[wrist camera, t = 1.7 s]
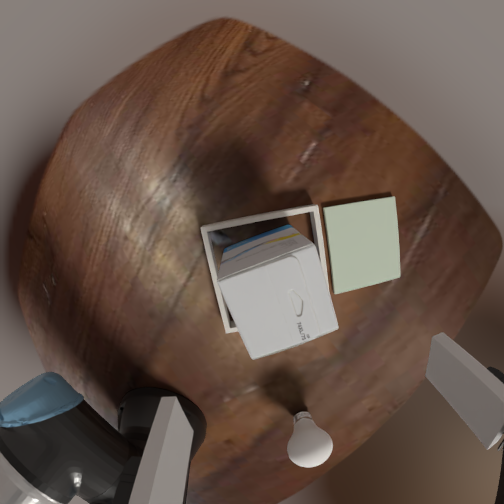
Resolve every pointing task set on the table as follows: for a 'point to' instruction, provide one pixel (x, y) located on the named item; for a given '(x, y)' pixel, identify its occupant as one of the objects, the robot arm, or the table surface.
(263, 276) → the ink box
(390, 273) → the mat
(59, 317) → the table surface
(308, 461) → the light bulb
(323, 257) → the tray rim
